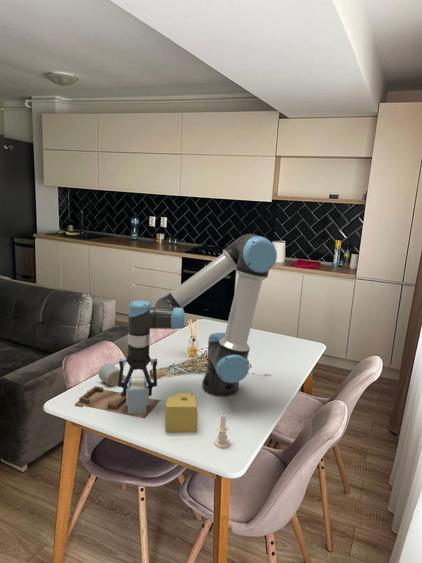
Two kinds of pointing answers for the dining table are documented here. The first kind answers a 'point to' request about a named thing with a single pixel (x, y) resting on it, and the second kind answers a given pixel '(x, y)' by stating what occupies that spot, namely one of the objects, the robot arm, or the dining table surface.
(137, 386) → the pale blue block
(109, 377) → the ceramic mug
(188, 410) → the cheese
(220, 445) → the chess piece
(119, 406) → the ledge board
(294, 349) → the dining table surface
